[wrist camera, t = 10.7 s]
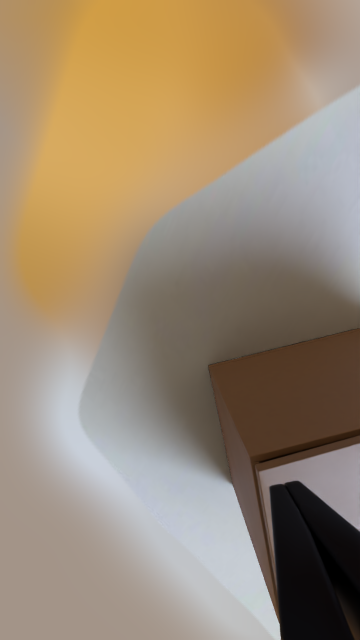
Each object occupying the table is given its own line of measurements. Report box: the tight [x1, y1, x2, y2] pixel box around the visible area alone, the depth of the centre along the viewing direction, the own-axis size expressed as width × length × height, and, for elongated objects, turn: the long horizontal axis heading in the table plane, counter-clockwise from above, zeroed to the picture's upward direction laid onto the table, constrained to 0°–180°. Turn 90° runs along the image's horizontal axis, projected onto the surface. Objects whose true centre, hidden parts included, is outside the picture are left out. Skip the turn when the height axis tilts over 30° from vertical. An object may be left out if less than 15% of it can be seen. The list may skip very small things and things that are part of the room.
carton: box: [208, 328, 360, 624], centre depth 19 cm, size 14×12×10 cm
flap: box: [255, 435, 360, 590], centre depth 14 cm, size 7×12×1 cm, turn 12°
